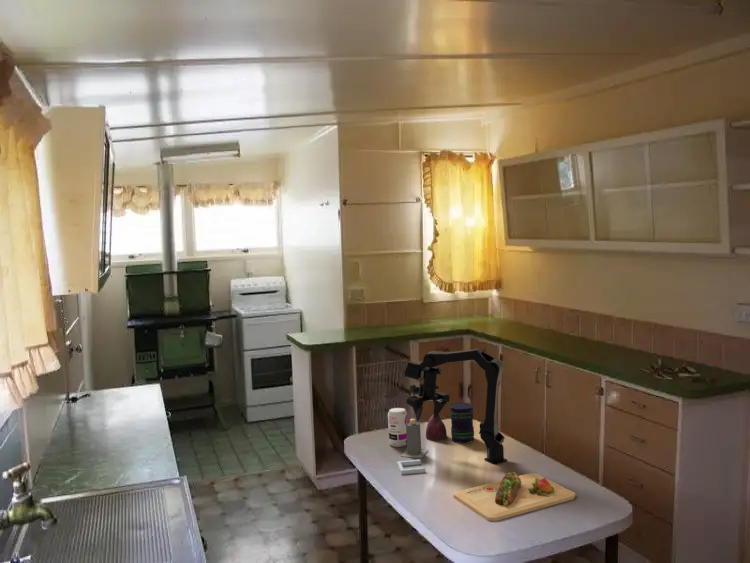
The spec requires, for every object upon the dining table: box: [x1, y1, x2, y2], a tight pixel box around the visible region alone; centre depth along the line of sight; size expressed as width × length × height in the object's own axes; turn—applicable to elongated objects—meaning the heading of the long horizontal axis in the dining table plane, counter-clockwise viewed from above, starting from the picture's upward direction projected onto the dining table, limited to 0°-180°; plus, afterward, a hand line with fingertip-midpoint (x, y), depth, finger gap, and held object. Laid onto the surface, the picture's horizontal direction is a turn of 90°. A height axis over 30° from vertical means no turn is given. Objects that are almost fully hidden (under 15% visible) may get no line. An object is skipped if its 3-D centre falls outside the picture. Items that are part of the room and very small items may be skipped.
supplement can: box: [387, 407, 408, 448], centre depth 279 cm, size 8×8×15 cm
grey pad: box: [400, 449, 429, 459], centre depth 267 cm, size 9×9×1 cm
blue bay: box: [396, 458, 426, 475], centre depth 251 cm, size 9×10×2 cm
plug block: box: [406, 418, 422, 455], centre depth 267 cm, size 4×4×14 cm
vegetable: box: [425, 413, 448, 441], centre depth 285 cm, size 10×9×14 cm
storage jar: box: [449, 402, 475, 444], centre depth 281 cm, size 10×10×15 cm
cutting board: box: [453, 471, 576, 522], centre depth 220 cm, size 35×23×8 cm
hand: (426, 419), depth 265 cm, fingers open, 9 cm apart
